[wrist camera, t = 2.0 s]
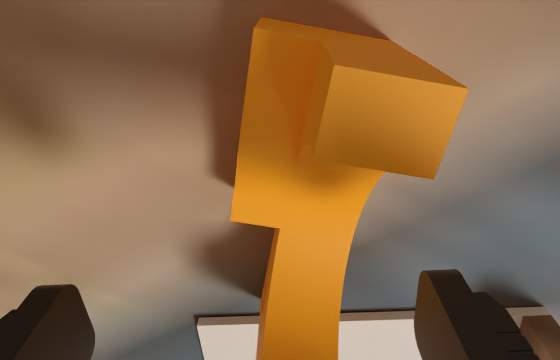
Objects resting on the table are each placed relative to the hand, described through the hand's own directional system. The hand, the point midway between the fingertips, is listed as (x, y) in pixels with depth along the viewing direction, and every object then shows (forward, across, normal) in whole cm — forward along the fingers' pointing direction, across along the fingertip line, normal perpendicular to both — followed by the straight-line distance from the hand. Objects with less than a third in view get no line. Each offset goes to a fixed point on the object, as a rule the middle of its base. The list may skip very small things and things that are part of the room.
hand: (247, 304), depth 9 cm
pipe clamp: (+7, -1, +1) cm, 7 cm away
